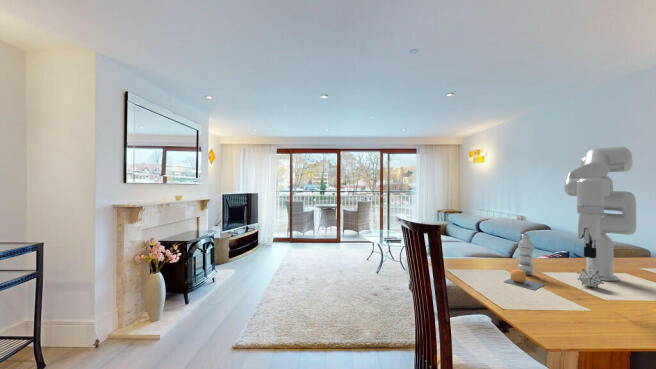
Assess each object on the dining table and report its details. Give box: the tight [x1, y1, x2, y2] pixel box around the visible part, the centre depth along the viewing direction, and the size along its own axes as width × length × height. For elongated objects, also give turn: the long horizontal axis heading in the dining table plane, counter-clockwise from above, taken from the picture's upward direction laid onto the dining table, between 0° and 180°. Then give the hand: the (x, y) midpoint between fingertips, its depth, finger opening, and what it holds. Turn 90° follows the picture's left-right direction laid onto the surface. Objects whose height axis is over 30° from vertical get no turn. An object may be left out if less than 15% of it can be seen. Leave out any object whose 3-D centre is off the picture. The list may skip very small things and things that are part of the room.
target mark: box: [503, 277, 546, 291], centre depth 123 cm, size 12×12×1 cm
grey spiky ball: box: [576, 268, 605, 290], centre depth 120 cm, size 9×8×10 cm
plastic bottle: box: [517, 233, 535, 276], centre depth 136 cm, size 6×7×20 cm
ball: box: [509, 268, 527, 283], centre depth 124 cm, size 6×6×6 cm
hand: (590, 257), depth 105 cm, fingers closed
